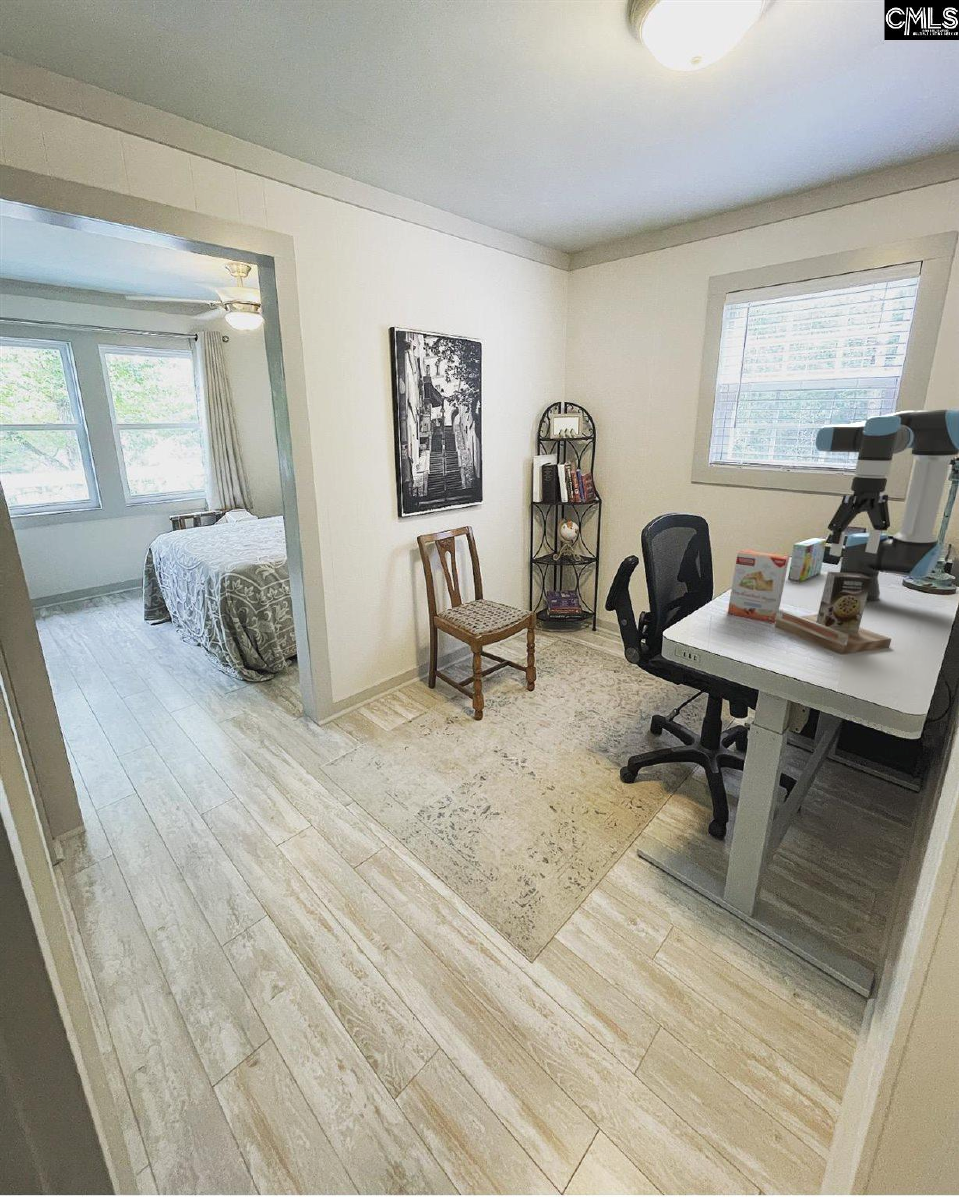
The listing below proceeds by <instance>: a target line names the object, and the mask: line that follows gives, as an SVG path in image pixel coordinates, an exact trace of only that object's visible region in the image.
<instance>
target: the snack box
mask: <svg viewBox="0 0 959 1197" xmlns="http://www.w3.org/2000/svg"><path fill="white" fill-rule="evenodd" d="M826 544H827V539H826V538H819V537H818V538H817V537H816V538H815V537H813V538H810V539H809V538H808V539H807V540H803V541H800V542H797V543H794V544H793V547H792V548H793V549H792V554H791V560H790V567H789V570H788V571H789V572H788V576H787V577H788V578H787V580H791V581H796V580H798V581H797V582H802V580H803V581H805V580H807V578H808V579H810V578H812V577H811V576H813V577H815V576H817V575H816V574H818V573H820V574H821V571H822V566H823V560H824V554H825V549H826ZM814 575H815V576H814ZM818 575H819V574H818ZM809 577H810V578H809Z"/></svg>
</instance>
